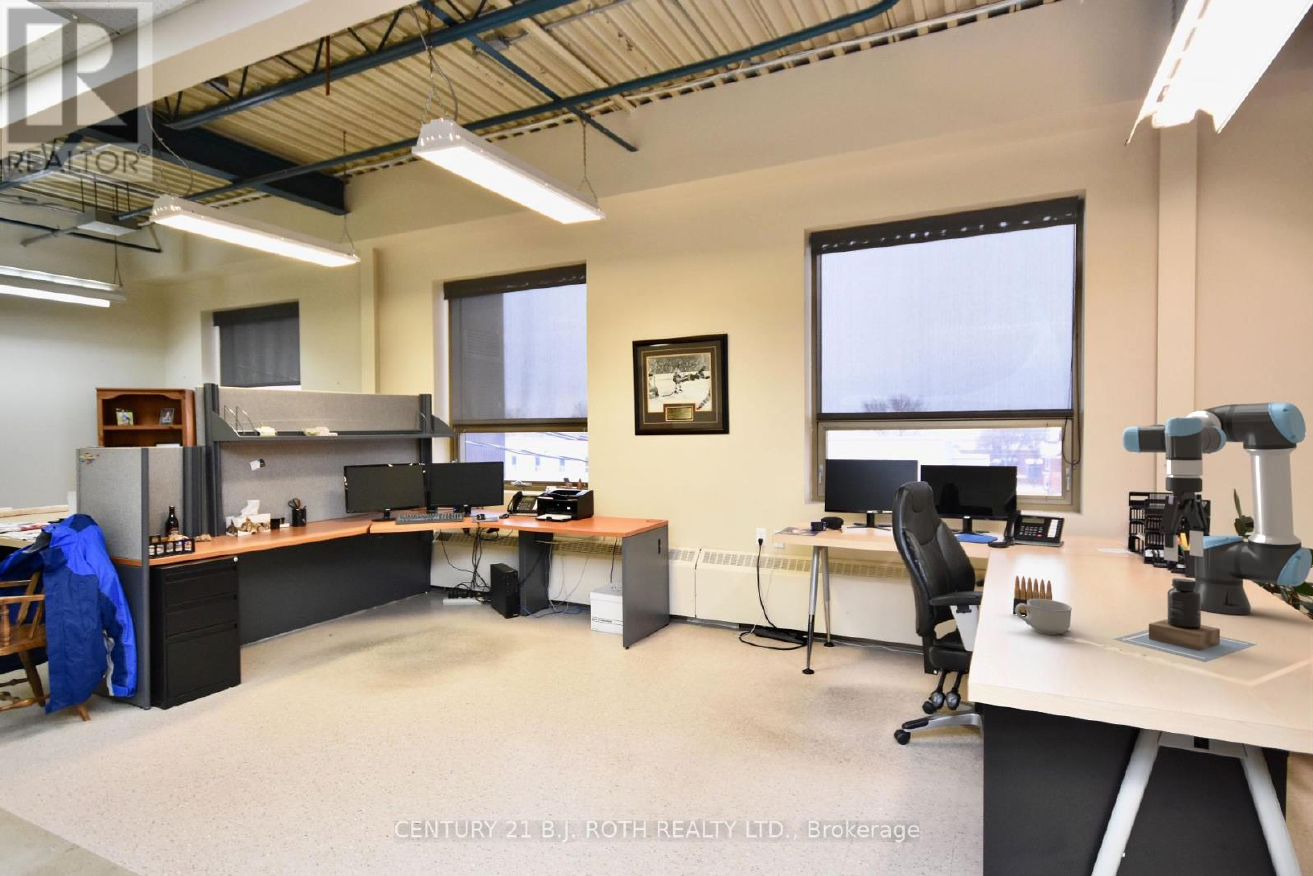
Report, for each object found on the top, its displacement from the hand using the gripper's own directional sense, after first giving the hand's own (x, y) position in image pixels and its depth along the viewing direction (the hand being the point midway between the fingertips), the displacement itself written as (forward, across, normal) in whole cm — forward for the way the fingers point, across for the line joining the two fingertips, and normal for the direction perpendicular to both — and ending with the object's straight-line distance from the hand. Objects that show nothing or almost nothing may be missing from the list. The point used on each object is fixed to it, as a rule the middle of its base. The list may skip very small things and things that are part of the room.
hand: (1183, 558), depth 171 cm
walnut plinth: (+22, 0, 0) cm, 22 cm away
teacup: (+23, +20, -25) cm, 39 cm away
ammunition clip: (+23, +8, -35) cm, 43 cm away
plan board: (+23, 0, 0) cm, 23 cm away
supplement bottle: (+18, 0, 0) cm, 18 cm away
